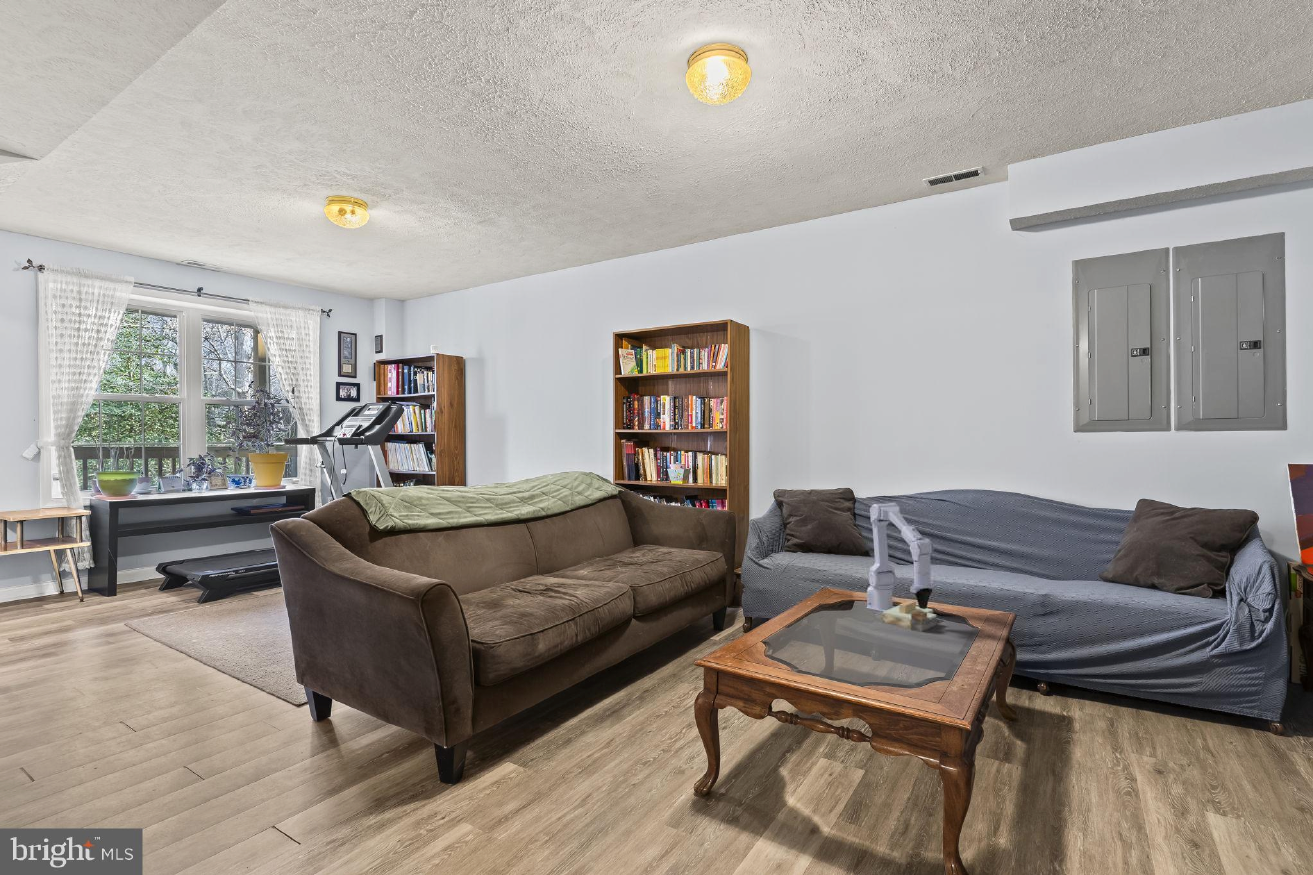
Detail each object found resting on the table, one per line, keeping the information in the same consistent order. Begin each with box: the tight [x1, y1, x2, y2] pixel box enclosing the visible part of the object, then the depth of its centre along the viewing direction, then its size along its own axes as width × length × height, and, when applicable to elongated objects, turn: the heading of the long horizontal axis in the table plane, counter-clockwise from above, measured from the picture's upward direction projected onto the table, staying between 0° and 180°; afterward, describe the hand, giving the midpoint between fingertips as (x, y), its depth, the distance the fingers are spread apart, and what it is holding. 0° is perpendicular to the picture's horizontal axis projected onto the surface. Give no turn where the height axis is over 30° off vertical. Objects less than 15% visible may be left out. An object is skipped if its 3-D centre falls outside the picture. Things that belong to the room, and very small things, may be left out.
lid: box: [881, 599, 937, 620], centre depth 240 cm, size 16×16×5 cm
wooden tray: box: [881, 611, 938, 633], centre depth 240 cm, size 16×17×4 cm
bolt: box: [911, 610, 927, 621], centre depth 231 cm, size 4×4×2 cm
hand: (923, 608), depth 233 cm, fingers closed
